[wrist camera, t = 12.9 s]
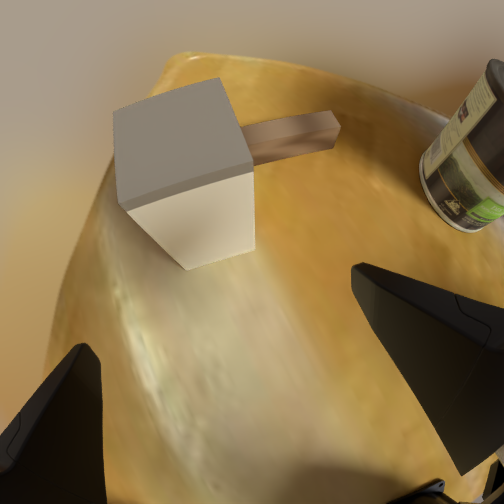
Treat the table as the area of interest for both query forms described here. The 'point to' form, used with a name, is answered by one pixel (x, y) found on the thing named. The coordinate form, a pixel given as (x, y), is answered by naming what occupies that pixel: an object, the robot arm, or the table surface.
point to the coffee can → (470, 158)
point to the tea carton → (187, 173)
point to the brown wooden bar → (291, 136)
